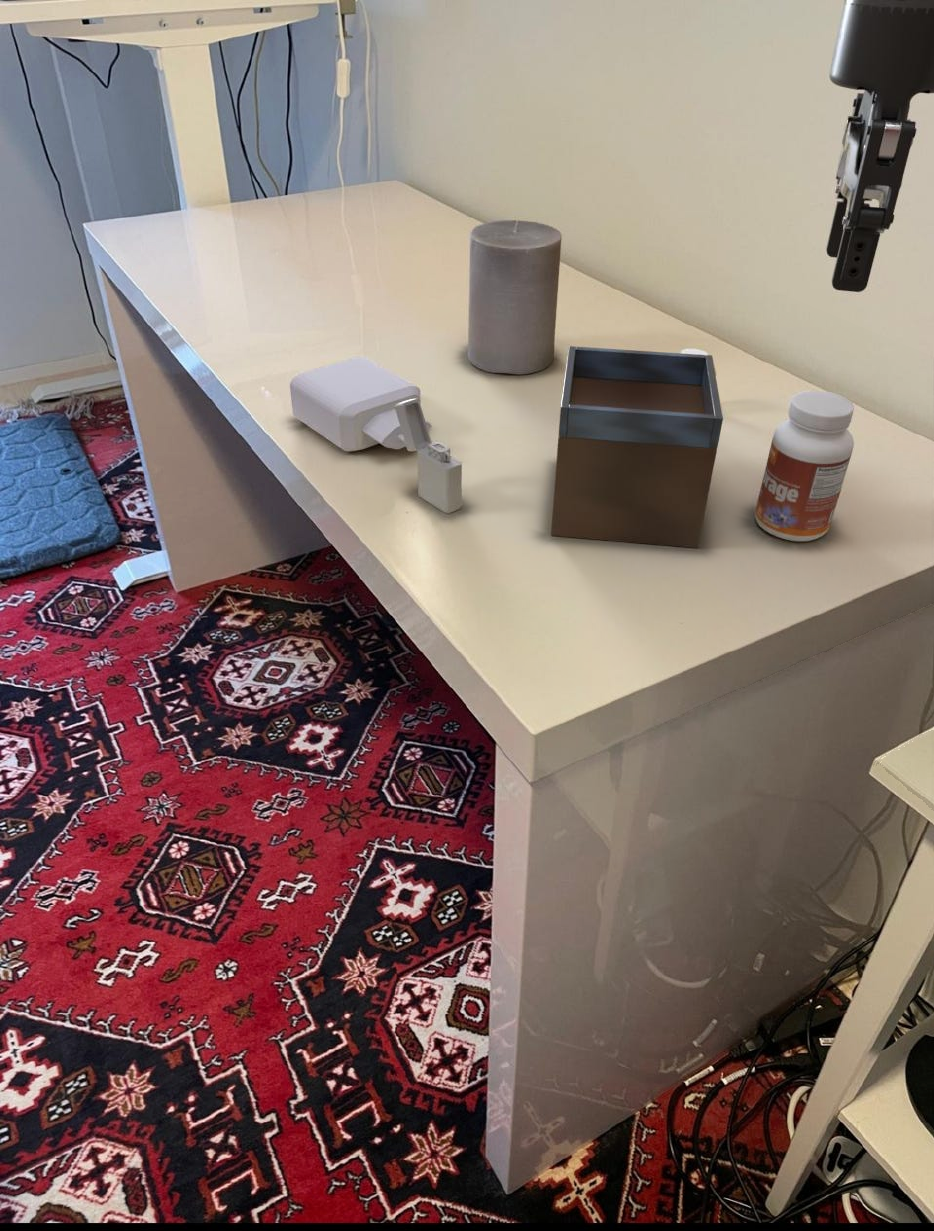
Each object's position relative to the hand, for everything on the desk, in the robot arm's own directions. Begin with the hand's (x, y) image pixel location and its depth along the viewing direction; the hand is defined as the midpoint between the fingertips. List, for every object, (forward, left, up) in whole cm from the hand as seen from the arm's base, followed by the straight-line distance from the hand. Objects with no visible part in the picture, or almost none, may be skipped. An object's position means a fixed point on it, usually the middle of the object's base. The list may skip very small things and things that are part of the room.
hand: (843, 272), depth 67 cm
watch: (+7, -22, -21) cm, 31 cm away
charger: (+37, -11, -21) cm, 44 cm away
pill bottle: (-1, -1, -21) cm, 21 cm away
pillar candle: (+26, -32, -21) cm, 46 cm away
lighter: (+30, -1, -21) cm, 37 cm away
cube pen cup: (+13, -2, -21) cm, 25 cm away
